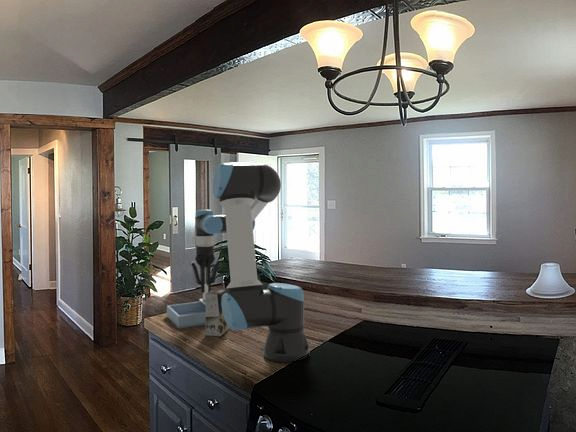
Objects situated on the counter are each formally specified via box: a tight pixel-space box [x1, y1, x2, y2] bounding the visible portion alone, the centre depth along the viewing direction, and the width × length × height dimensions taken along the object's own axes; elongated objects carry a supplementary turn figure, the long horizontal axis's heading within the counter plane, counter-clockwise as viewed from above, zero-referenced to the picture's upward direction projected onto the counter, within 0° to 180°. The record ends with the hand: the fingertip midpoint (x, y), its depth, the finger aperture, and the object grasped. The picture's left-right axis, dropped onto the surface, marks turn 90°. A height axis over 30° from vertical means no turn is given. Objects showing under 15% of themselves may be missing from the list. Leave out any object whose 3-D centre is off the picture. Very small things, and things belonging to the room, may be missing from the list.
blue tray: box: [166, 301, 206, 330], centre depth 187 cm, size 20×20×5 cm
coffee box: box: [205, 288, 229, 337], centre depth 168 cm, size 9×6×16 cm
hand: (205, 299), depth 189 cm, fingers closed
